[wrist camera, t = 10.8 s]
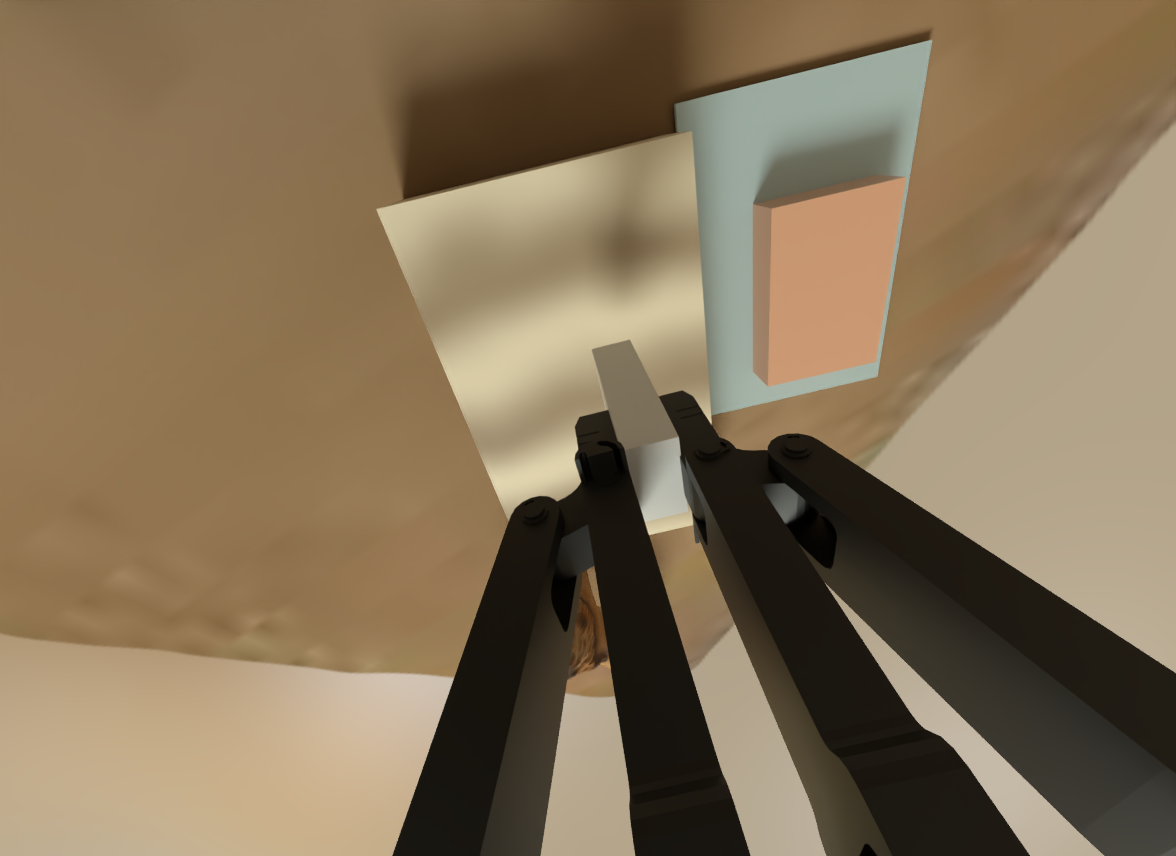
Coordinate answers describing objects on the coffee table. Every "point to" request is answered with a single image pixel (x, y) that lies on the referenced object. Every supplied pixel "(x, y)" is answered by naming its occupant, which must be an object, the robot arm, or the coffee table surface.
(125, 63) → the coffee table surface
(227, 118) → the coffee table surface
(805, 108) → the mat
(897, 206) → the tile
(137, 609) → the coffee table surface
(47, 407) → the coffee table surface
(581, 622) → the lion figurine
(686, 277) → the plate
